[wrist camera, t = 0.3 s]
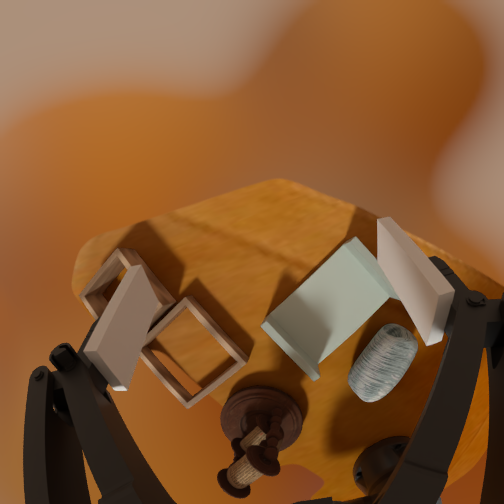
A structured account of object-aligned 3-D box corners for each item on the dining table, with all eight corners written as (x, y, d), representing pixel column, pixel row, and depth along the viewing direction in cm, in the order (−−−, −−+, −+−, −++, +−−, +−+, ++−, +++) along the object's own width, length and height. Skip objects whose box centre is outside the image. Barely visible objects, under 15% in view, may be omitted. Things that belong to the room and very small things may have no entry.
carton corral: (176, 301, 52) (162, 305, 46) (134, 343, 53) (118, 351, 47) (134, 249, 53) (117, 247, 47) (96, 293, 54) (78, 295, 48)
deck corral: (249, 358, 50) (246, 363, 47) (192, 402, 51) (187, 409, 48) (191, 294, 51) (185, 296, 48) (140, 344, 53) (133, 348, 50)
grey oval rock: (383, 304, 44) (413, 345, 35) (411, 325, 47) (438, 361, 38) (327, 360, 48) (344, 404, 39) (359, 374, 51) (377, 413, 42)
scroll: (268, 458, 48) (255, 527, 28) (208, 418, 50) (171, 478, 30) (318, 412, 47) (327, 479, 28) (255, 367, 49) (232, 422, 30)
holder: (392, 291, 47) (406, 295, 40) (311, 366, 48) (314, 381, 41) (347, 240, 48) (355, 236, 41) (265, 317, 49) (260, 326, 43)
